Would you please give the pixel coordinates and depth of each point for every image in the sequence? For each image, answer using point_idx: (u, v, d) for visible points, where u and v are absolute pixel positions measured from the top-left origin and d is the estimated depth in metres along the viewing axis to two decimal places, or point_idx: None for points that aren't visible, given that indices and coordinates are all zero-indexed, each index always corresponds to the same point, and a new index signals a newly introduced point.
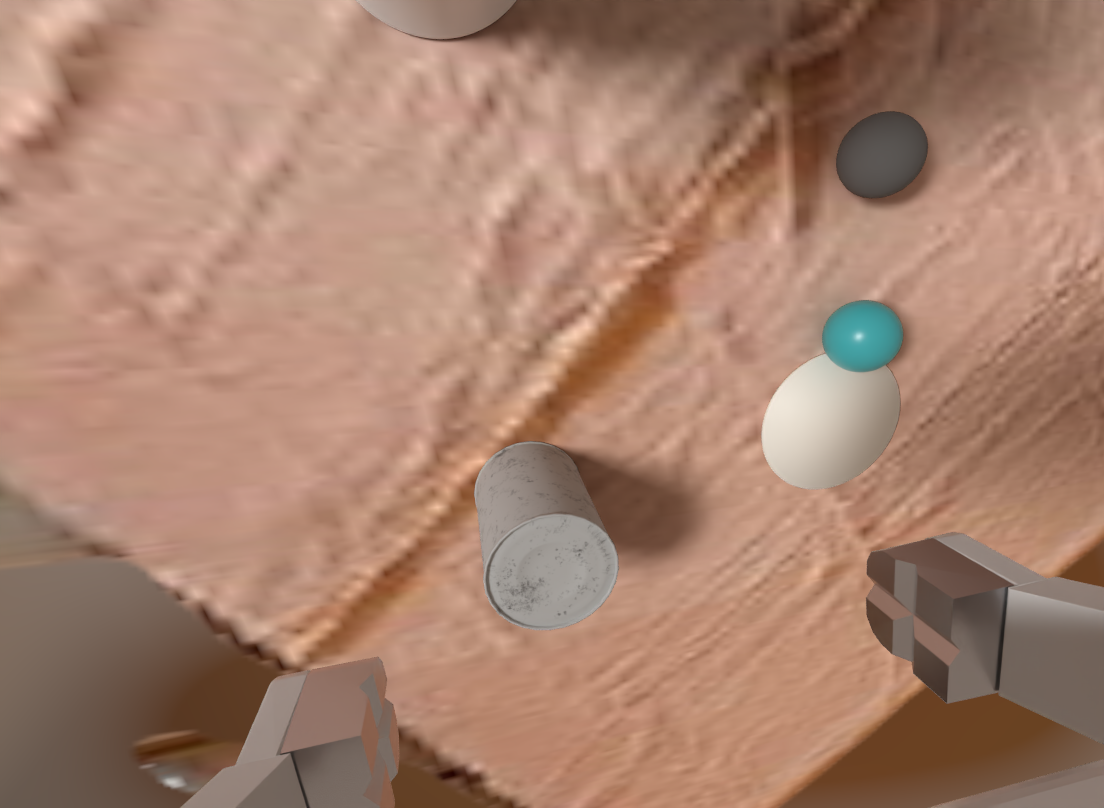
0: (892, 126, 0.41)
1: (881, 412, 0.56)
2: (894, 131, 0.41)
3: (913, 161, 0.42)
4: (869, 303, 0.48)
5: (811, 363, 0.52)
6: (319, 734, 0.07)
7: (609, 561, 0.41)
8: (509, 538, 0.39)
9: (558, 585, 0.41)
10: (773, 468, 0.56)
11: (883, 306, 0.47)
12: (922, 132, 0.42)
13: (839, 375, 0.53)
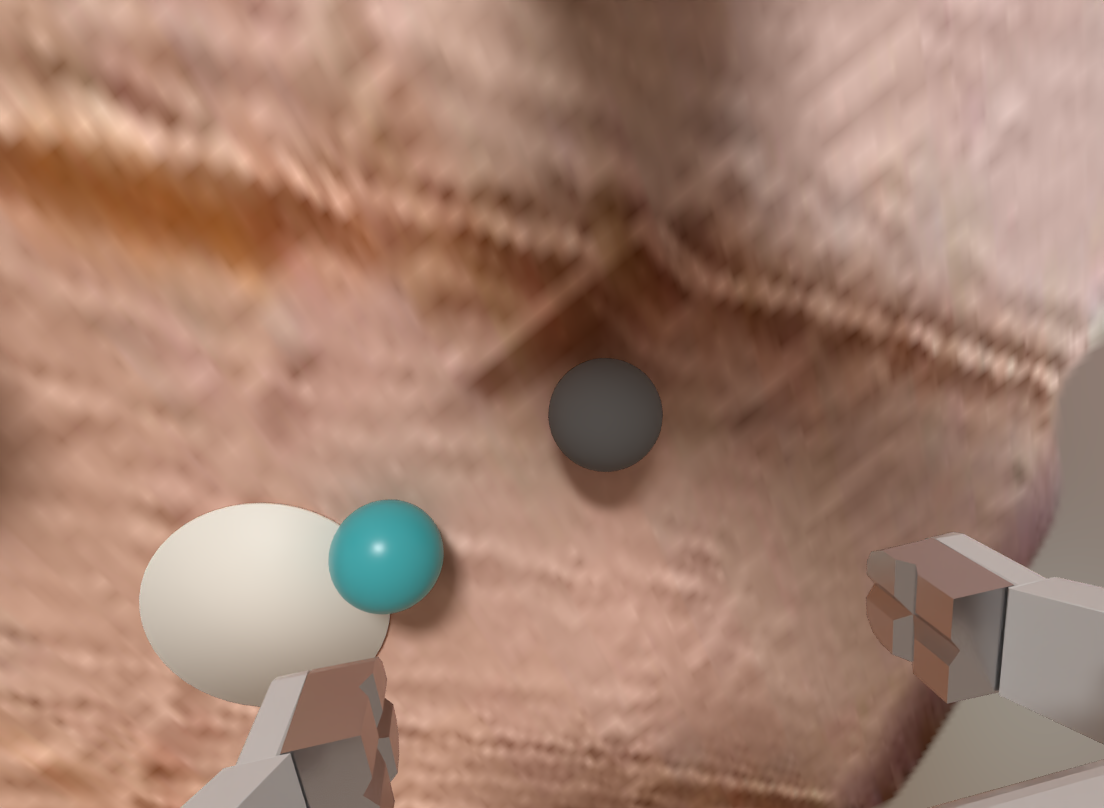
0: (637, 392, 0.29)
1: (328, 663, 0.36)
2: (633, 397, 0.28)
3: (613, 446, 0.29)
4: (430, 531, 0.31)
5: (326, 523, 0.34)
6: (319, 734, 0.07)
7: None
8: None
9: None
10: (145, 578, 0.33)
11: (436, 551, 0.31)
12: (651, 436, 0.29)
13: None
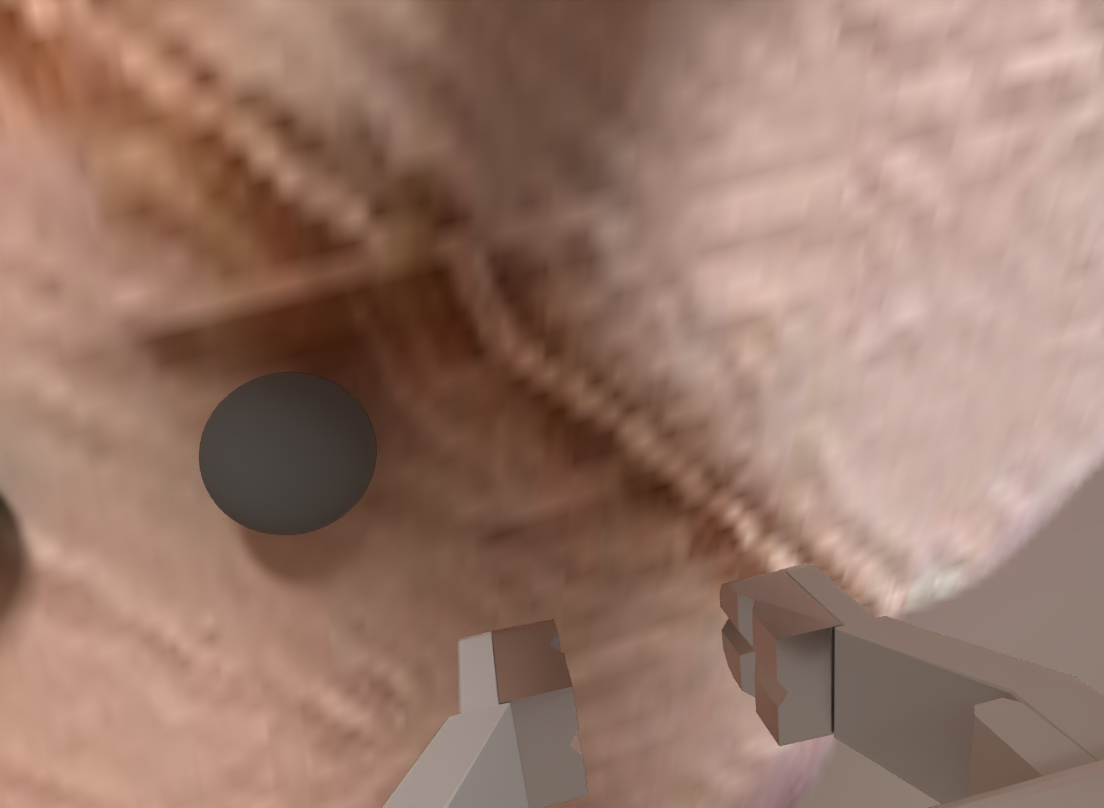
0: (327, 438, 0.20)
1: None
2: (315, 442, 0.20)
3: (256, 497, 0.19)
4: None
5: None
6: (530, 686, 0.07)
7: None
8: None
9: None
10: None
11: None
12: (324, 505, 0.20)
13: None
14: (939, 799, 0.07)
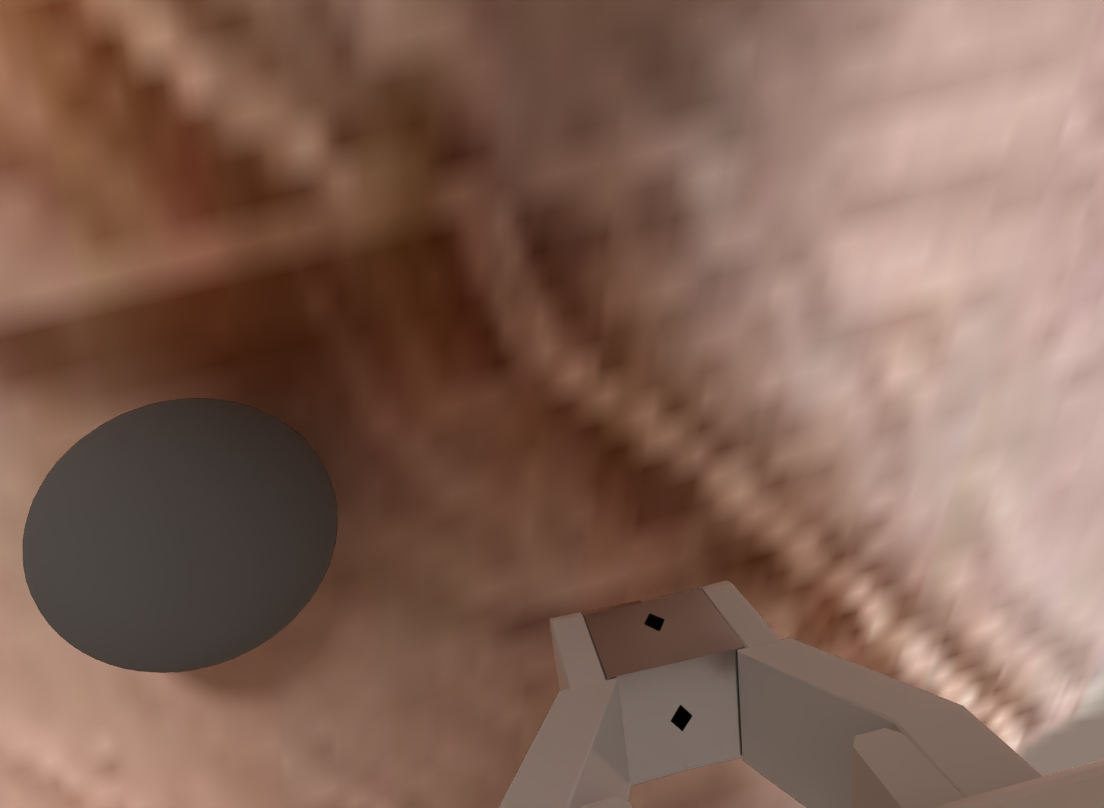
0: (239, 522, 0.11)
1: None
2: (215, 531, 0.11)
3: (106, 631, 0.11)
4: None
5: None
6: (634, 662, 0.08)
7: None
8: None
9: None
10: None
11: None
12: (237, 632, 0.12)
13: None
14: None
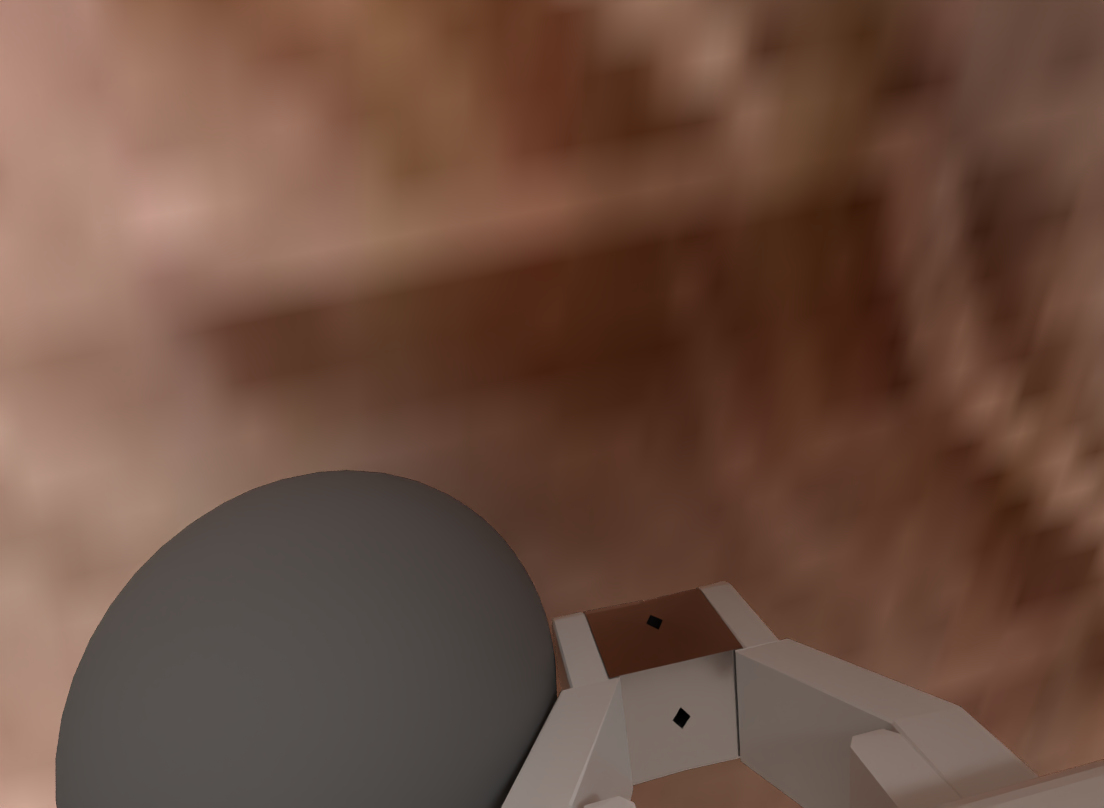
0: None
1: None
2: None
3: None
4: None
5: None
6: (636, 662, 0.08)
7: None
8: None
9: None
10: None
11: None
12: None
13: None
14: None
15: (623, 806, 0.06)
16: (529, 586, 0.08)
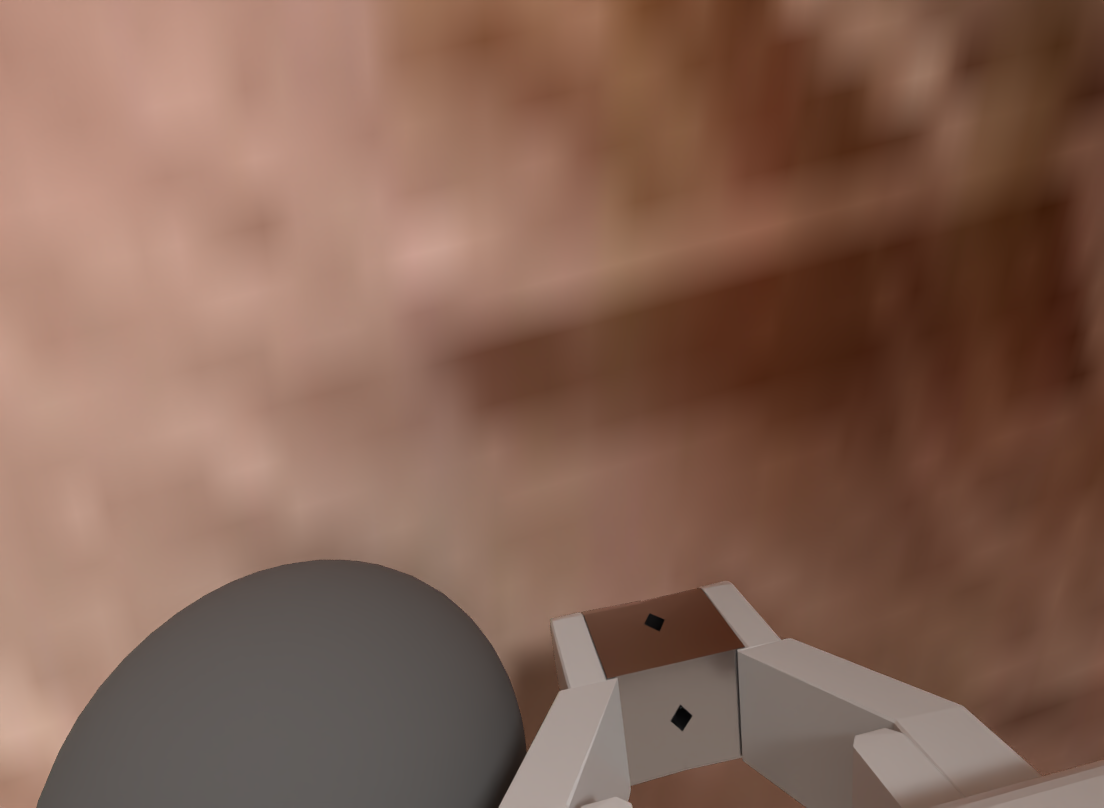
0: None
1: None
2: None
3: None
4: None
5: None
6: (634, 662, 0.08)
7: None
8: None
9: None
10: None
11: None
12: None
13: None
14: None
15: (620, 807, 0.06)
16: None
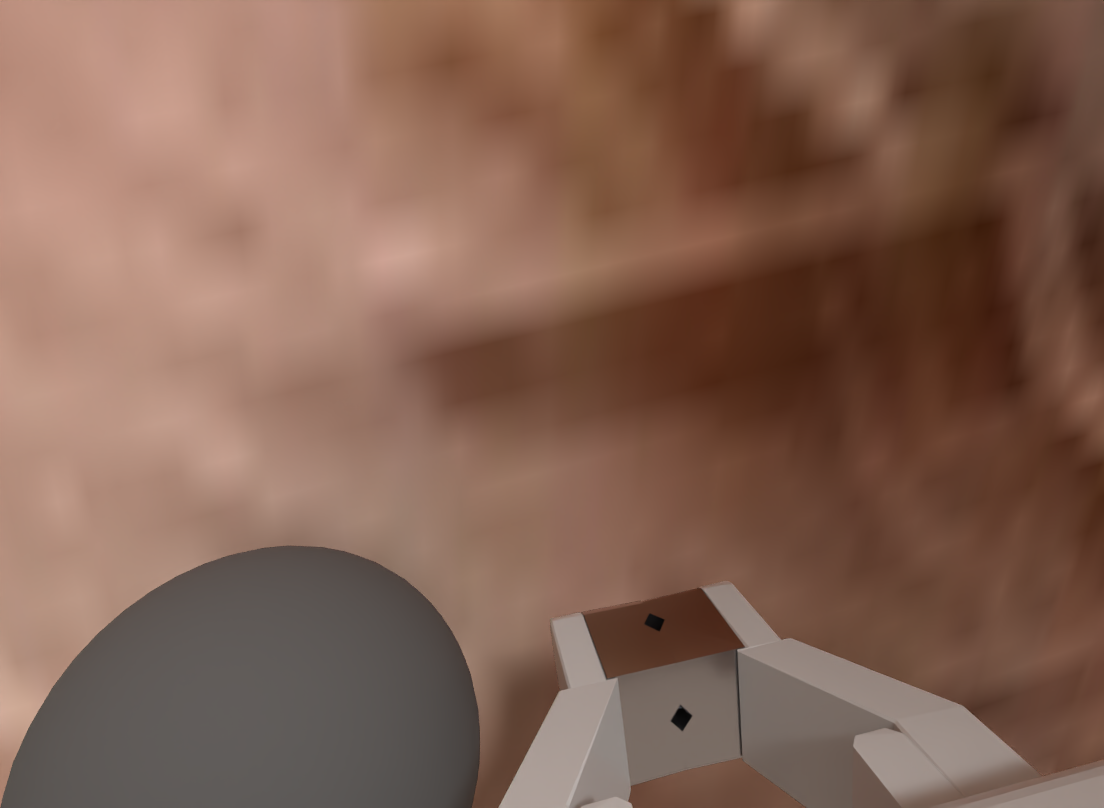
0: None
1: None
2: None
3: None
4: None
5: None
6: (634, 662, 0.08)
7: None
8: None
9: None
10: None
11: None
12: None
13: None
14: None
15: (620, 807, 0.06)
16: None
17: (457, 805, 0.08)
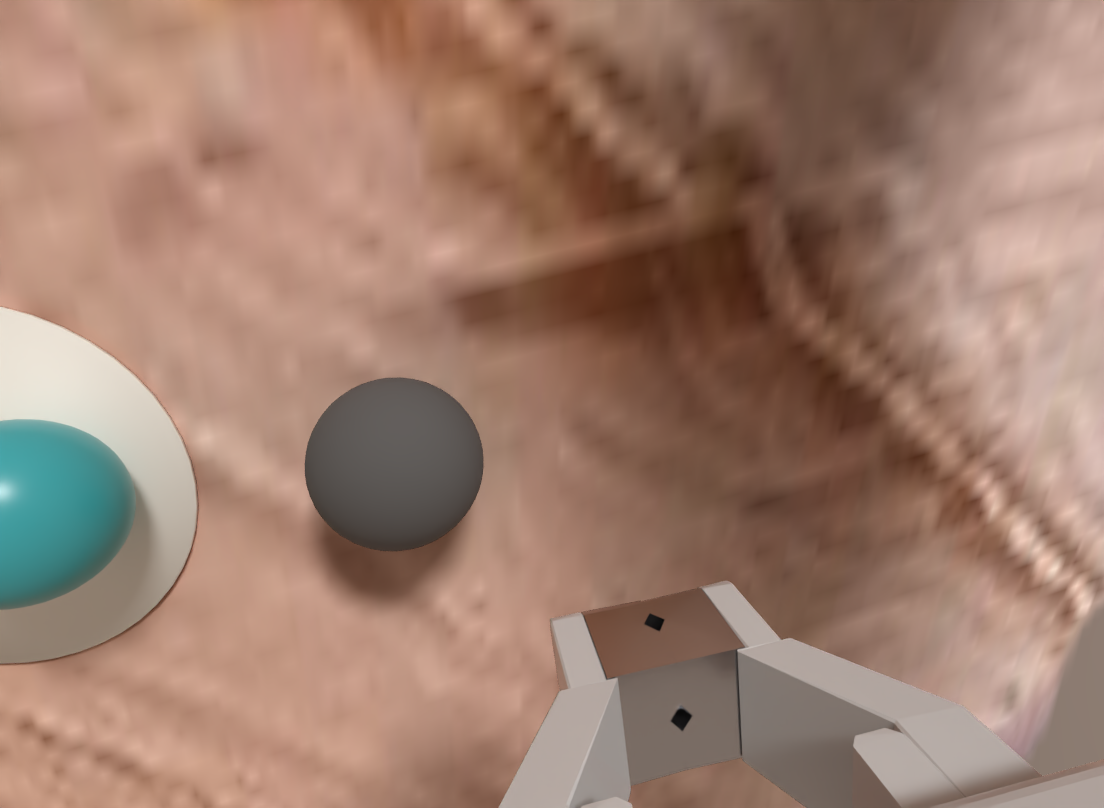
0: None
1: (44, 615, 0.23)
2: None
3: None
4: None
5: (146, 400, 0.21)
6: (634, 662, 0.08)
7: None
8: None
9: None
10: None
11: None
12: None
13: None
14: None
15: (620, 807, 0.06)
16: (376, 465, 0.18)
17: (474, 468, 0.20)
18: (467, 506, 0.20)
